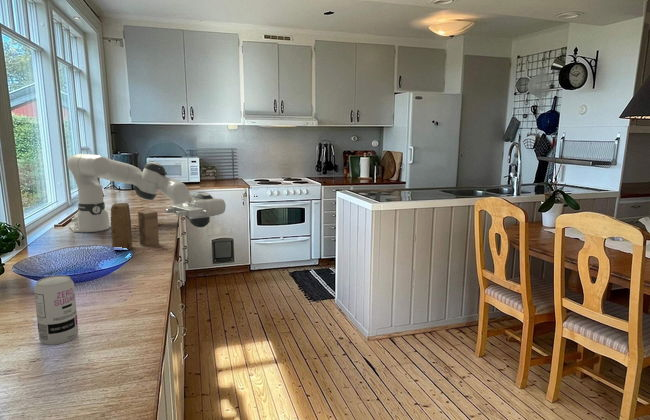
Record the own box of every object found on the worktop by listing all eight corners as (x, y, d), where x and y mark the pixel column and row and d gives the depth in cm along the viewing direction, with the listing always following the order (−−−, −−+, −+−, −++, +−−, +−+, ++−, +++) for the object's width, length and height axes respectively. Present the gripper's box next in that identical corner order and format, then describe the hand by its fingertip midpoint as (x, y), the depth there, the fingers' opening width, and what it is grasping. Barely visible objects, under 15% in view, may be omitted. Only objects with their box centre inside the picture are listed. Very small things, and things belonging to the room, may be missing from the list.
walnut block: (139, 243, 193) (138, 211, 191) (152, 241, 198) (150, 210, 195) (146, 246, 190) (144, 213, 187) (158, 244, 194) (157, 212, 192)
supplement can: (50, 331, 108) (45, 274, 105) (84, 330, 108) (80, 274, 106) (31, 346, 100) (25, 286, 97) (68, 345, 101) (63, 285, 98)
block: (130, 251, 181) (128, 205, 177) (111, 252, 179) (108, 206, 175) (133, 245, 191) (131, 201, 188) (115, 246, 189) (112, 202, 185)
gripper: (209, 218, 204) (183, 222, 194) (186, 213, 217) (160, 216, 207) (209, 205, 203) (183, 208, 193) (185, 201, 216) (160, 203, 206)
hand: (171, 212), depth 200 cm, fingers open, 8 cm apart
